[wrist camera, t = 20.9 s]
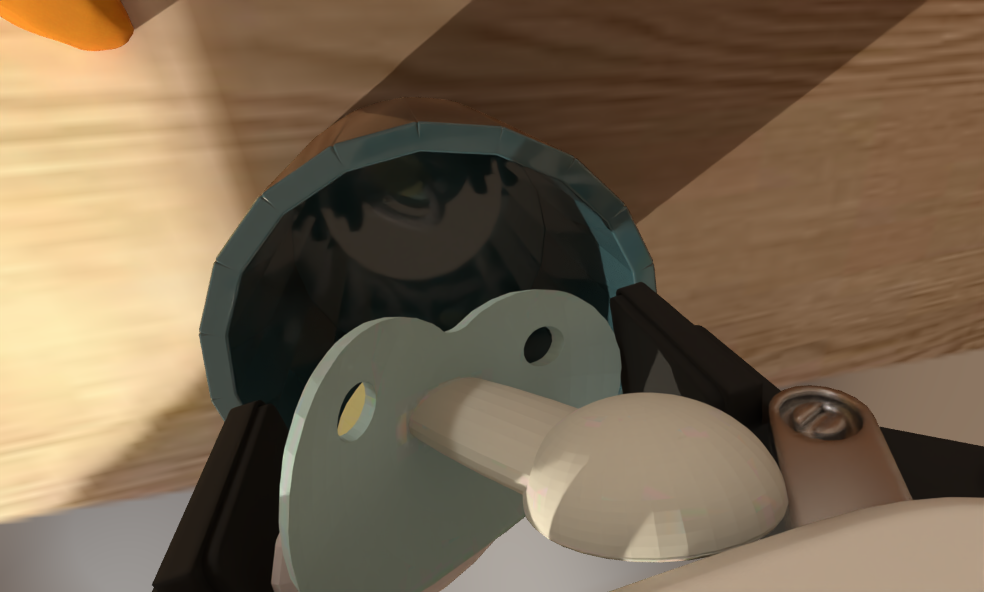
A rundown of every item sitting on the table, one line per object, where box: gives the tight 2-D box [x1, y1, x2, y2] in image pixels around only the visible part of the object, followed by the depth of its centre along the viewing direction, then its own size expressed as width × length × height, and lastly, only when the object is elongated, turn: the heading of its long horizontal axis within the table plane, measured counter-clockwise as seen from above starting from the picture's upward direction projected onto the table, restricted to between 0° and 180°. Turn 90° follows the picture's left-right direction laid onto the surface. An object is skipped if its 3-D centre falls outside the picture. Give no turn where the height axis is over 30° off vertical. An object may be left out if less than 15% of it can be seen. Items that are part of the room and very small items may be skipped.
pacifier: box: [271, 289, 788, 592], centre depth 8 cm, size 7×6×6 cm
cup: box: [199, 97, 657, 431], centre depth 17 cm, size 11×11×10 cm
